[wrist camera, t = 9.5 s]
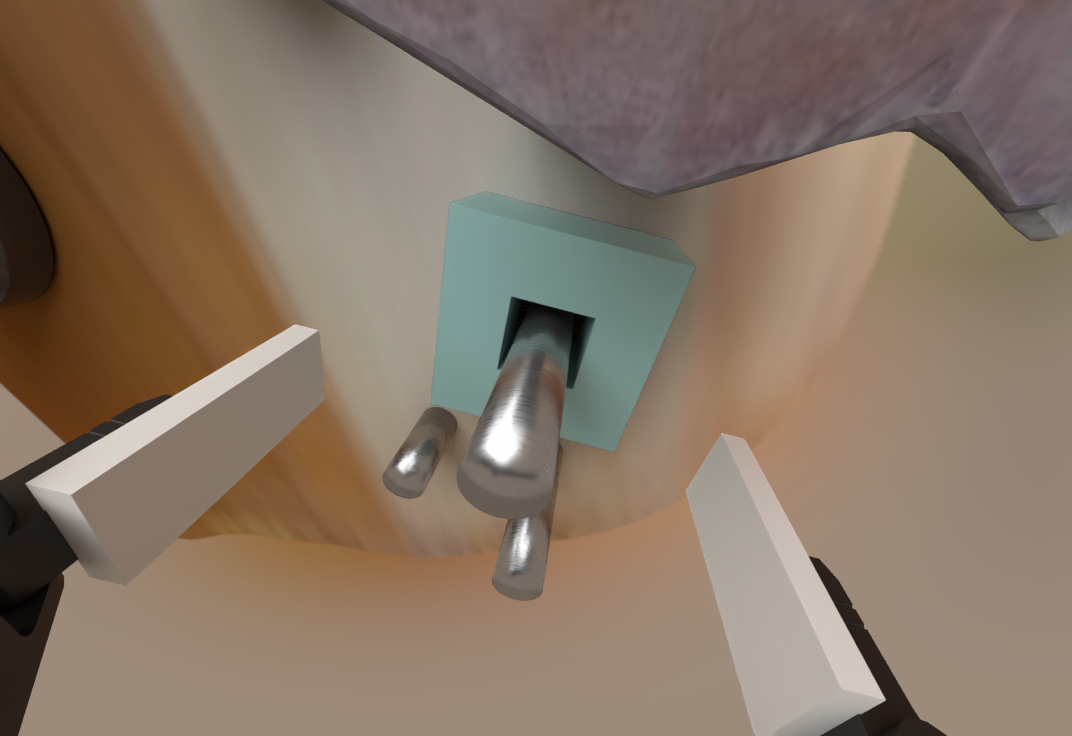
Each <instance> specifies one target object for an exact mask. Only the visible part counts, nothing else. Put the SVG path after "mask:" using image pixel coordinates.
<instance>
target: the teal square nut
mask: <svg viewBox="0 0 1072 736" xmlns="http://www.w3.org/2000/svg"><path fill="white" fill-rule="evenodd" d="M695 269H696V266H695V265H694V264H693V263H692V262H691V261H690V260H689V259H688V258H687V256H686V255H685V254H684V253H683V252H682V251H681V250H680V249H679V247H678V246H677V245H676V244H675V243H674V242H673V241H672V240H670V239H666V238H662V237H658V236H654V235H651V234H647V233H643V232H639V231H635V230H631V229H628V228H624V227H620V226H616V225H612V224H608V223H604V222H601V221H597V220H593V219H589V218H585V217H581V216H578V215H574V214H570V213H566V212H562V211H558V210H554V209H551V208H547V207H543V206H539V205H535V204H531V203H528V202H524V201H520V200H516V199H512V198H508V197H504V196H501V195H497V194H493V193H489V192H482V193H478V194H475V195H472V196H469V197H466V198H463V199H460V200H457V201H454V202H451V203H450V204H449V214H448V224H447V235H446V245H445V256H444V266H443V277H442V287H441V297H440V308H439V318H438V329H437V339H436V350H435V360H434V371H433V381H432V391H431V402H430V403H431V404H434V405H438V406H442V407H446V408H449V409H453V410H457V411H461V412H464V413H468V414H472V415H476V416H480V417H481V415H482V413H483V411H484V408H485V406H486V404H487V401H488V399H489V397H490V395H491V392H492V390H493V388H494V385H495V383H496V381H497V379H498V376H499V374H500V372H501V369H502V367H503V365H504V363H505V360H506V358H507V356H508V353H509V351H510V349H511V347H512V344H513V342H514V340H515V337H516V335H517V333H518V331H519V328H520V326H518V325H517V324H518V319H519V315H520V310H521V305H522V300H527V301H531V302H535V303H539V304H543V305H546V306H550V307H554V308H558V309H562V310H565V311H569V312H573V313H577V314H581V315H584V316H585V319H584V322H583V325H582V328H581V331H580V335H579V338H578V341H575V340H572V343H571V351H570V359H569V367H568V374H567V382H566V390H565V398H564V406H563V414H562V422H561V430H560V438H562V439H566V440H570V441H574V442H577V443H581V444H585V445H589V446H592V447H596V448H600V449H604V450H608V451H611V452H615V450H616V447H617V445H618V443H619V441H620V438H621V436H622V434H623V432H624V429H625V427H626V425H627V422H628V420H629V418H630V416H631V413H632V411H633V409H634V407H635V404H636V402H637V400H638V398H639V395H640V393H641V391H642V389H643V386H644V384H645V382H646V379H647V377H648V375H649V373H650V370H651V368H652V366H653V364H654V361H655V359H656V357H657V355H658V352H659V350H660V348H661V346H662V343H663V341H664V339H665V337H666V334H667V332H668V330H669V327H670V325H671V323H672V321H673V318H674V316H675V314H676V312H677V309H678V307H679V305H680V303H681V300H682V298H683V296H684V294H685V291H686V289H687V287H688V285H689V282H690V280H691V278H692V275H693V273H694V271H695Z"/></svg>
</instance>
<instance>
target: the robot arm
mask: <svg viewBox="0 0 1072 736" xmlns="http://www.w3.org/2000/svg"><path fill="white" fill-rule="evenodd" d="M52 274H53V251H52V246H51V242H50V238H49V234H48V231H47V228H46V226H45V223H44V221H43V218H42V216H41V214H40V211H39V209H38V207H37V205H36V203H35V201H34V200H33V198H32V196H31V194H30V192H29V191H28V189H27V187H26V186H25V184H24V183H23V181H22V179H21V178H20V176H19V175H18V173H17V172H16V171H15V169H14V168H13V166H12V165H11V164H10V162H9V161H8V159H7V158H6V157H5V156H4V154H3V153H2V152H1V151H0V308H4V307H8V306H11V305H15V304H19V303H23V302H27V301H30V300H33V299H35V298H37V297H38V296H40V295H41V294H42V293H43V292H44V291H45V290H46V289H47V287H48V286H49V284H50V281H51V278H52ZM324 400H325V395H324V383H323V371H322V360H321V348H320V336H319V330H316V329H312V328H308V327H304V326H300V325H296V324H295V325H293V326H292V327H290V328H288V329H287V330H285V331H283V332H281V333H280V334H278V335H276V336H275V337H273V338H271V339H270V340H268V341H266V342H264V343H263V344H261V345H259V346H258V347H256V348H254V349H253V350H251V351H249V352H247V353H246V354H244V355H242V356H241V357H239V358H237V359H236V360H234V361H232V362H231V363H229V364H227V365H225V366H224V367H222V368H220V369H219V370H217V371H215V372H214V373H212V374H210V375H208V376H207V377H205V378H203V379H202V380H200V381H198V382H197V383H195V384H193V385H191V386H190V387H188V388H186V389H185V390H183V391H181V392H180V393H178V394H176V395H174V396H170V395H163V396H160V397H157V398H154V399H151V400H148V401H145V402H142V403H139V404H136V405H135V406H133V407H131V408H129V409H127V410H126V411H124V412H122V413H120V414H118V415H117V416H115V417H113V418H111V421H110V422H107V421H106V422H104V423H102V424H101V425H99V426H97V427H95V428H93V429H92V430H90V433H88V434H85V433H84V434H83V435H81V436H79V437H77V438H76V439H74V440H72V441H70V442H68V443H67V444H65V445H63V446H61V447H59V448H58V449H56V450H54V451H52V452H51V453H49V454H47V455H45V456H44V457H42V458H40V459H38V460H36V461H35V462H33V463H31V464H29V465H28V466H25V467H24V468H22V469H20V470H18V471H17V472H15V473H13V474H11V475H9V476H8V477H6V478H4V479H2V480H0V736H18V733H19V731H20V727H21V724H22V721H23V717H24V714H25V711H26V708H27V704H28V701H29V698H30V695H31V691H32V688H33V685H34V682H35V679H36V675H37V672H38V669H39V666H40V662H41V659H42V656H43V653H44V649H45V646H46V642H47V640H48V636H49V633H50V630H51V626H52V623H53V620H54V616H55V613H56V610H57V607H58V604H59V601H60V597H61V594H62V591H63V588H64V576H63V574H62V572H63V571H64V570H65V569H66V568H68V567H69V566H70V565H71V564H73V563H74V562H75V561H76V560H78V561H79V562H80V564H81V565H82V567H83V568H84V570H85V571H86V572H87V574H88V575H89V577H93V578H97V579H101V580H105V581H109V582H113V583H117V584H121V585H125V586H127V585H128V584H129V583H130V582H131V581H132V580H133V579H134V578H135V577H136V576H138V575H139V574H140V573H141V572H142V571H143V570H144V569H145V568H146V567H147V566H148V565H149V564H150V563H151V562H153V561H154V560H155V559H156V558H157V557H158V556H159V555H160V554H161V553H162V552H163V551H164V550H165V549H166V548H167V547H169V546H170V545H171V544H172V543H173V542H174V541H175V540H176V539H177V538H178V537H179V536H180V535H181V534H182V533H183V532H184V531H186V530H187V529H188V528H189V527H190V526H191V525H192V524H193V523H194V522H195V521H196V520H197V519H198V518H199V517H200V516H202V515H203V514H204V513H205V512H206V511H207V510H208V509H209V508H210V507H211V506H212V505H213V504H214V503H215V502H216V501H217V500H219V499H220V498H221V497H222V496H223V495H224V494H225V493H226V492H227V491H228V490H229V489H230V488H231V487H232V486H233V485H235V484H236V483H237V482H238V481H239V480H240V479H241V478H242V477H243V476H244V475H245V474H246V473H247V472H248V471H249V470H250V469H252V468H253V467H254V466H255V465H256V464H257V463H258V462H259V461H260V460H261V459H262V458H263V457H264V456H265V455H266V454H268V453H269V452H270V451H271V450H272V449H273V448H274V447H275V446H276V445H277V444H278V443H279V442H280V441H281V440H282V439H283V438H285V437H286V436H287V435H288V434H289V433H290V432H291V431H292V430H293V429H294V428H295V427H296V426H297V425H298V424H299V423H301V422H302V421H303V420H304V419H305V418H306V417H307V416H308V415H309V414H310V413H311V412H312V411H313V410H314V409H315V408H316V407H318V406H319V405H320V404H321V403H322V402H323V401H324ZM685 492H686V496H687V499H688V502H689V506H690V510H691V513H692V516H693V520H694V524H695V527H696V531H697V534H698V538H699V542H700V545H701V549H702V552H703V556H704V559H705V563H706V566H707V570H708V573H709V577H710V580H711V584H712V588H713V591H714V595H715V598H716V602H717V605H718V608H719V612H720V616H721V619H722V623H723V627H724V630H725V633H726V637H727V641H728V644H729V648H730V651H731V655H732V658H733V662H734V666H735V669H736V672H737V676H738V679H739V683H740V687H741V690H742V693H743V697H744V701H745V704H746V708H747V711H748V715H749V719H750V722H751V725H752V729H753V733H754V736H946V735H945V734H944V733H942V732H941V731H940V730H938V729H937V728H935V727H934V726H932V725H931V724H929V723H928V722H925V721H923V720H920V718H919V717H918V716H917V714H916V713H915V711H914V709H913V708H912V706H911V705H910V703H909V701H908V699H907V697H906V696H905V694H904V692H903V691H902V689H901V687H900V685H899V684H898V682H897V680H896V679H895V677H894V675H893V673H892V672H891V670H890V668H889V666H888V665H887V663H886V661H885V660H884V658H883V656H882V655H881V653H880V651H879V649H878V648H877V646H876V644H875V642H874V641H873V639H872V637H871V635H870V634H869V632H868V630H866V629H864V623H863V622H862V620H861V618H860V617H859V615H858V613H857V611H856V610H855V609H853V608H852V603H851V601H850V599H849V598H848V596H847V594H846V592H845V591H844V589H843V587H842V586H841V584H840V582H839V581H838V579H837V578H836V577H835V576H834V575H833V574H832V573H831V572H830V570H829V569H828V568H827V567H826V566H825V565H824V564H823V563H822V562H821V560H820V559H818V558H814V557H810V556H808V555H807V553H806V552H805V549H804V548H803V546H802V544H801V542H800V540H799V538H798V536H797V535H796V533H795V531H794V529H793V527H792V525H791V524H790V522H789V520H788V518H787V516H786V514H785V512H784V511H783V509H782V507H781V505H780V503H779V501H778V500H777V498H776V496H775V494H774V492H773V490H772V488H771V487H770V485H769V483H768V481H767V479H766V477H765V476H764V474H763V472H762V470H761V468H760V466H759V464H758V462H757V461H756V459H755V457H754V455H753V453H752V451H751V450H750V448H749V446H748V444H747V442H746V440H745V439H743V438H740V437H736V436H732V435H728V434H724V433H721V434H720V436H719V438H718V439H717V441H716V442H715V444H714V446H713V447H712V449H711V450H710V452H709V454H708V455H707V457H706V458H705V460H704V462H703V463H702V465H701V467H700V468H699V470H698V471H697V473H696V475H695V476H694V478H693V479H692V481H691V483H690V484H689V486H688V487H687V489H686V491H685Z"/></svg>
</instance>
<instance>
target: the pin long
mask: <svg viewBox="0 0 1072 736" xmlns="http://www.w3.org/2000/svg"><path fill="white" fill-rule="evenodd" d="M574 319H575V313H573V312H569V311H565V310H562V309H558V308H554V307H550V306H546V305H543V304H539V303H535V302H531V303H530V305H529V308H528V310H527V312H526V314H525V317H524V319H523V321H522V324H521V326H520V328H519V331H518V333H517V335H516V337H515V340H514V342H513V344H512V347H511V349H510V351H509V353H508V356H507V358H506V360H505V363H504V365H503V367H502V369H501V372H500V374H499V376H498V379H497V381H496V383H495V385H494V388H493V390H492V392H491V395H490V397H489V399H488V401H487V404H486V406H485V408H484V411H483V413H482V415H481V418H480V420H479V422H478V424H477V427H476V429H475V431H474V434H473V436H472V438H471V440H470V443H469V445H468V447H467V450H466V452H465V454H464V456H463V459H462V461H461V463H460V466H459V468H458V471H457V483H458V487H459V489H460V491H461V493H462V494H463V496H464V497H465V498H466V500H468V501H469V502H470V503H471V504H472V505H473V506H474V507H476V508H477V509H479V510H481V511H483V512H485V513H487V514H489V515H492V516H495V517H499V518H505V519H521V518H527V517H530V516H533V515H535V514H537V513H539V512H541V511H542V510H543V509H544V508H545V507H546V506H547V505H548V504H549V502H550V500H551V498H552V493H553V485H554V478H555V470H556V462H557V454H558V446H559V438H560V430H561V422H562V414H563V406H564V398H565V390H566V382H567V374H568V367H569V359H570V351H571V343H572V335H573V327H574Z"/></svg>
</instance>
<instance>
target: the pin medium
mask: <svg viewBox="0 0 1072 736" xmlns="http://www.w3.org/2000/svg"><path fill="white" fill-rule="evenodd" d="M562 454H563V450H562V447H561V445H560V444H559V446H558V454H557V462H556V470H555V478H554V485H553V493H552V498H551V500H550V502H549V504H548V505H547V506H546V507H545V508H544V509H543V510H542V511H541V512H539V513H537V514H535V515H533V516H530V517H527V518H521V519H508V522H507V526H506V529H505V533H504V537H503V541H502V544H501V548H500V552H499V556H498V559H497V563H496V567H495V571H494V574H493V578H492V583H493V585H494V587H495V588H496V590H497V591H498V592H500V593H501V594H503V595H505V596H507V597H509V598H512V599H516V600H523V601H526V600H533V599H536V598H538V597H539V596H540V595H541V594H542V591H543V584H544V577H545V570H546V563H547V557H548V550H549V543H550V536H551V529H552V522H553V516H554V509H555V502H556V495H557V488H558V481H559V475H560V468H561V461H562Z"/></svg>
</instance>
